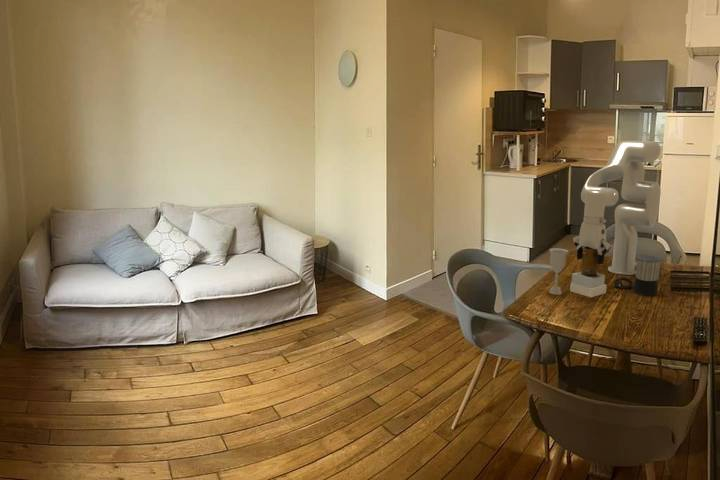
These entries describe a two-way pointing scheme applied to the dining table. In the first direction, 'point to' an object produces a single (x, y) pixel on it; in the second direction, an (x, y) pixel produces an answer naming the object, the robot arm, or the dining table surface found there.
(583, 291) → the tower base
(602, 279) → the tower top
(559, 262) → the chalice
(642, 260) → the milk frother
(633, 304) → the dining table surface
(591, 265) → the condiment
